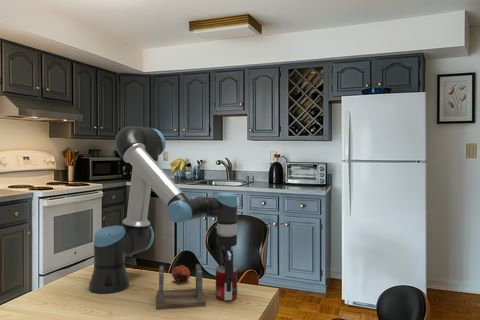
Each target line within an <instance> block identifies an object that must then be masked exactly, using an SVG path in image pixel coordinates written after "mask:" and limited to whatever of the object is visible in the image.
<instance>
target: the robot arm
mask: <svg viewBox="0 0 480 320" xmlns="http://www.w3.org/2000/svg"><path fill="white" fill-rule="evenodd" d="M114 145H115V149H116V153H117V154H118V155H119V156H120V158H121V159H122V160H123V162H125V163H127V164H128V163H129V164H130V165H131V166H132V170H131V176H130V177H131V178H130V179H131V180H130V187H129V193H128V194H129V197H128V203H127V211H126V218H124V219H123V220H122V222H121V223H122V224H121V225H112V226H106V227H102V228H99V229H98V230H96V231H95V233H94V236H93V237H94V238H93V272H92V275H91V279H90V280H89V283H88V289H89V291H90V292H93V293H95V294H111V293H112V294H113V293H117V292H121V291H124V290H126V289H128V288H129V286H130V277H129V276H128V272H127V269H126V265H125V264H126V262H125V261H126V257H128V256H132V255H135V254H138V253H139V254H140V253H143V252H144V251H146V250H148V249H150V247H152V245H153V242H154V239H155V232H154V230H153V227H152V226H151V221H150V220H148V214H149V208H150V206H149V205H150V199H151V191H154V193H155V194H156V195H157V197H159V199H160V200H161V201H162V202H163V203H164V205H165V206H166V207H167V215H168V218H169V220H170V221H172V222H174V223H176V224H179V223H186V222H188V221H192V220H196V219H201V218H206V217H207V218H215V219H216V225H215V226H214V227H215V229H216V245H217V246H218V247H220V266H225V281H223V283H224V300H231V301H233V300H232V282H233V281H234V280H233V266H234V251H233V250H232V247H236V246H237V245H238V235H237V234H238V206H239V205H238V196H237V194H236V193H234V192H225V191H224V192H218V193H217V195H216V197H214V196H213V197H210V196H202V195H197V196H192V197H191V198H188V196H187V195H186V194H185V193H184V192H183V190H181V189H180V188H179V186H178V185H177V184H176V183H175V182H174V181H173V180H172V179H171V177H170V176H169V175H168V174H167V173H166V172H165V171H164V170H163V168H162V167H161V166H160V165H159V164H158V162H159V158H160V157H159V156H160V155H162V154H163V152H164V151H165V149H166V137H164V135H163V133H162V132H161V131H160V130H158V129H156V128H152V127H143V126H133V125H131V126H130V125H129V126H125V127H123V128H121V129H120V130H119V131H118V133H117V134H116V136H115V140H114Z"/></svg>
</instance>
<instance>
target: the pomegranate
mask: <svg viewBox="0 0 480 320" xmlns="http://www.w3.org/2000/svg"><path fill="white" fill-rule="evenodd" d="M190 276H191V271H190V269H189V268H188V267H187V266H185V264H183V263H182V264H180V265H177V266H176V267H174V268H173V269H172V272H171V277H172V278H173V280H174V281H175V282H177V285H179V284H180V282H181V283H182V282H183V283H186V282H188V281H189V279H190V278H191V277H190Z"/></svg>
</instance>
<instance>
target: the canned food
mask: <svg viewBox="0 0 480 320" xmlns="http://www.w3.org/2000/svg"><path fill="white" fill-rule="evenodd" d="M233 280H234V281H233V282H232V300H224V283H223V281H225V266H221V265H218V266H217V267H216V268H215V297H216V299H217V300H220V301H224V302H229V301H233V300H236V299H237V296H238V268H237V267H236V266H234V265H233Z"/></svg>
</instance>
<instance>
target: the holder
mask: <svg viewBox="0 0 480 320" xmlns="http://www.w3.org/2000/svg"><path fill="white" fill-rule="evenodd" d="M164 268H165V266H164V265H159V269H158V270H159V271H158V275H159V276H158V290H156V294H155V295H156V297H155V310H156V311H157V310H169V309H184V308H198V307H200V308H201V307H206V299H205V295H204V292H203V270H202V267H201V264H200V263H196V264H195V288H185V289H168V290H166V289H165V290H164V285H165V283H164V281H165V280H164Z"/></svg>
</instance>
